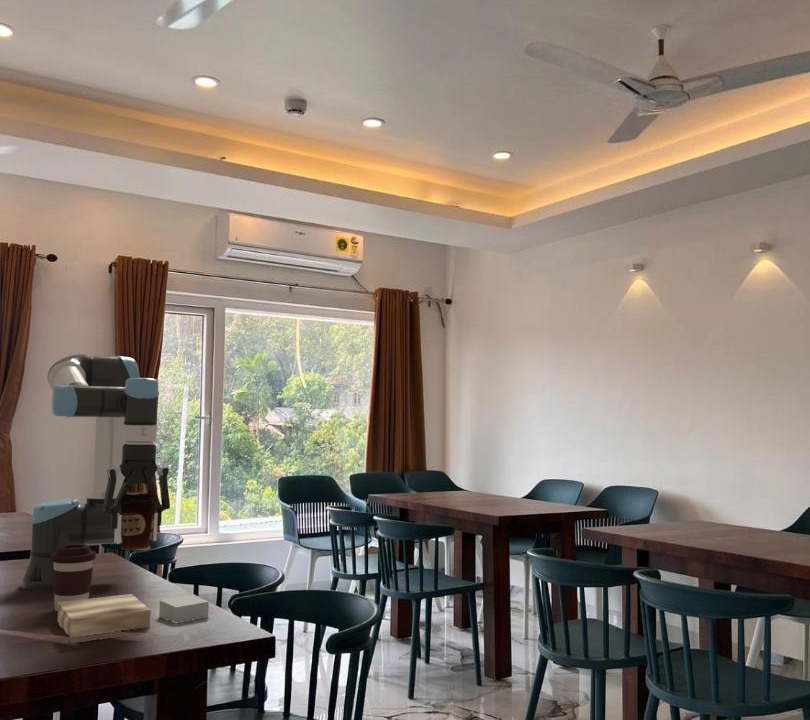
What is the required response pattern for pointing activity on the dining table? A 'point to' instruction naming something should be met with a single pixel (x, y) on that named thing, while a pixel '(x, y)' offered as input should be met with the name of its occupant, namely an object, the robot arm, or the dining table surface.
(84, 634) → the beech block
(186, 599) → the grey block
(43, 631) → the dining table surface
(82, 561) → the coffee cup
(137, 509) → the coffee cup
